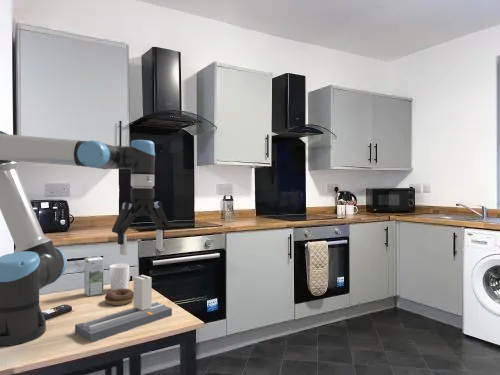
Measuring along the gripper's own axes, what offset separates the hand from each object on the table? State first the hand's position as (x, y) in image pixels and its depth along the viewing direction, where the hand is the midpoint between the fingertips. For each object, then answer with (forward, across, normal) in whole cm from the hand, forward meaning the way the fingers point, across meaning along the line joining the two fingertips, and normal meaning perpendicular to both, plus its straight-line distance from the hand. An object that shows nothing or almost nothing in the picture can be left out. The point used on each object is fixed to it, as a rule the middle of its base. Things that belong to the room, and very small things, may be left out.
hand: (142, 251), depth 122 cm
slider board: (+22, -6, -1) cm, 23 cm away
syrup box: (+22, +2, +36) cm, 43 cm away
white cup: (+22, +12, +34) cm, 43 cm away
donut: (+22, +4, +20) cm, 31 cm away
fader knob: (+19, 0, -1) cm, 19 cm away
